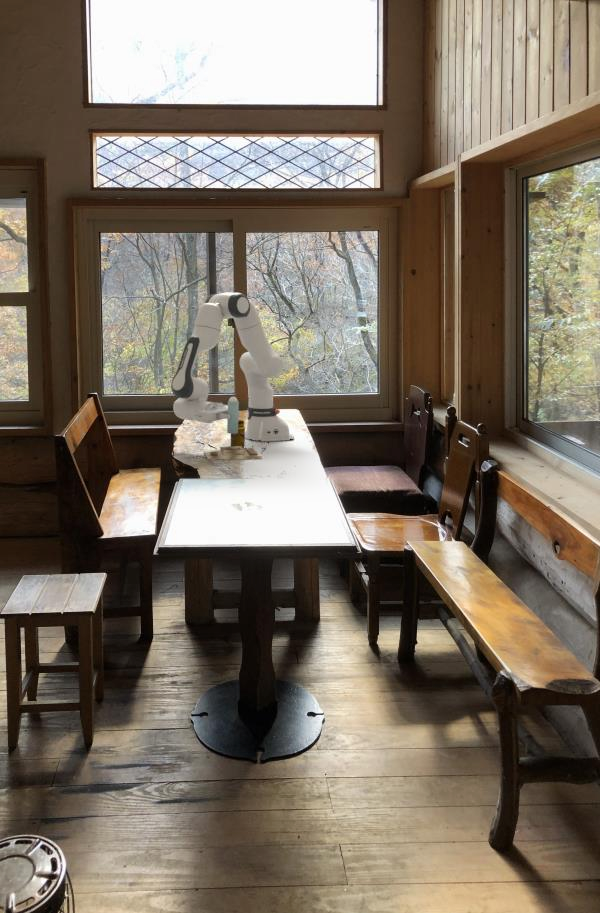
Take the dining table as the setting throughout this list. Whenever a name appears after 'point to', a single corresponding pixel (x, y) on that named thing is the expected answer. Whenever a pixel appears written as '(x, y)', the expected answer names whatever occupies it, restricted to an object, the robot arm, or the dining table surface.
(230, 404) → the roll-on deodorant
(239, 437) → the condiment
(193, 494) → the dining table surface
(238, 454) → the jig
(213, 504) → the dining table surface
